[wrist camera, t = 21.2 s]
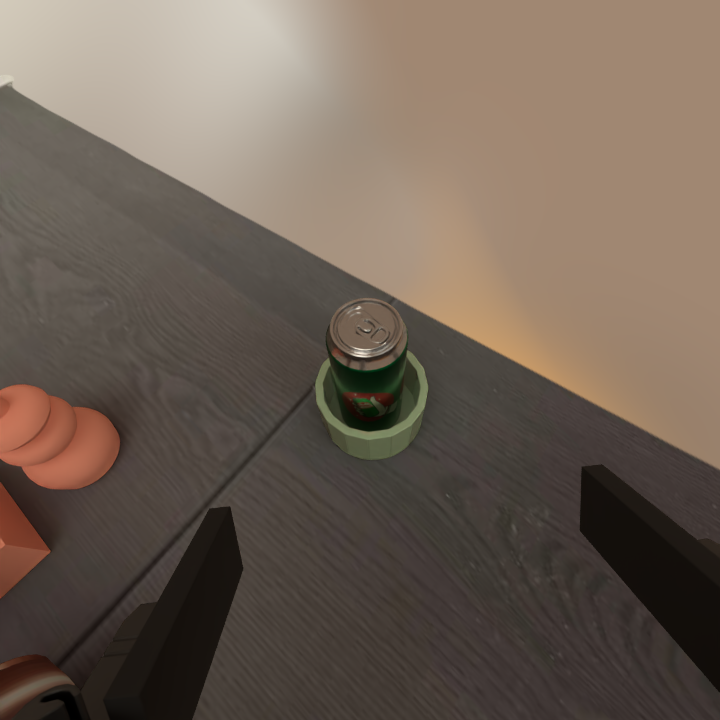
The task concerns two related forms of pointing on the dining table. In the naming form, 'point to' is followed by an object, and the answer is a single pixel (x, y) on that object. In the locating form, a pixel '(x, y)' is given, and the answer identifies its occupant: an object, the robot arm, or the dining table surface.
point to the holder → (383, 440)
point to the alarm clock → (26, 682)
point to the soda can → (368, 362)
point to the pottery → (45, 464)
